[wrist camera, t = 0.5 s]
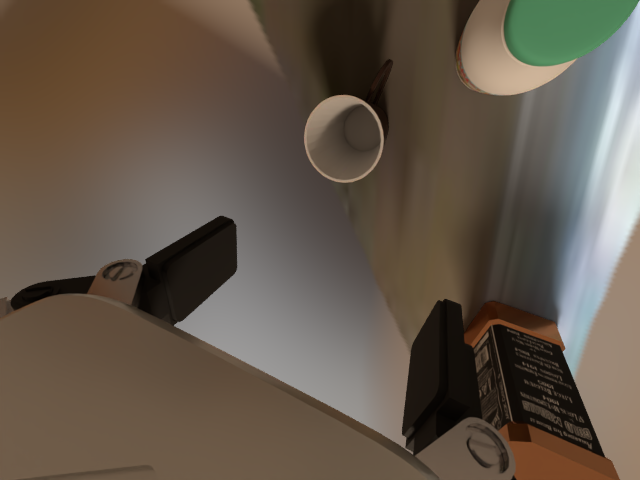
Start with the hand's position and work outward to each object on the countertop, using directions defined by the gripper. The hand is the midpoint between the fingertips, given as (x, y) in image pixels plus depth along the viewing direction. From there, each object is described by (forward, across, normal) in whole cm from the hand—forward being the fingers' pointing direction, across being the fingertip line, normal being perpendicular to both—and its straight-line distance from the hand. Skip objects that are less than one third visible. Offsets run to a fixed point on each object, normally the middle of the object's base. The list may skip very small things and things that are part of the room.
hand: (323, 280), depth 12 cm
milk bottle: (+29, -6, -12) cm, 32 cm away
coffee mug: (+29, +5, -3) cm, 30 cm away
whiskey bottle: (+29, -24, +23) cm, 44 cm away
